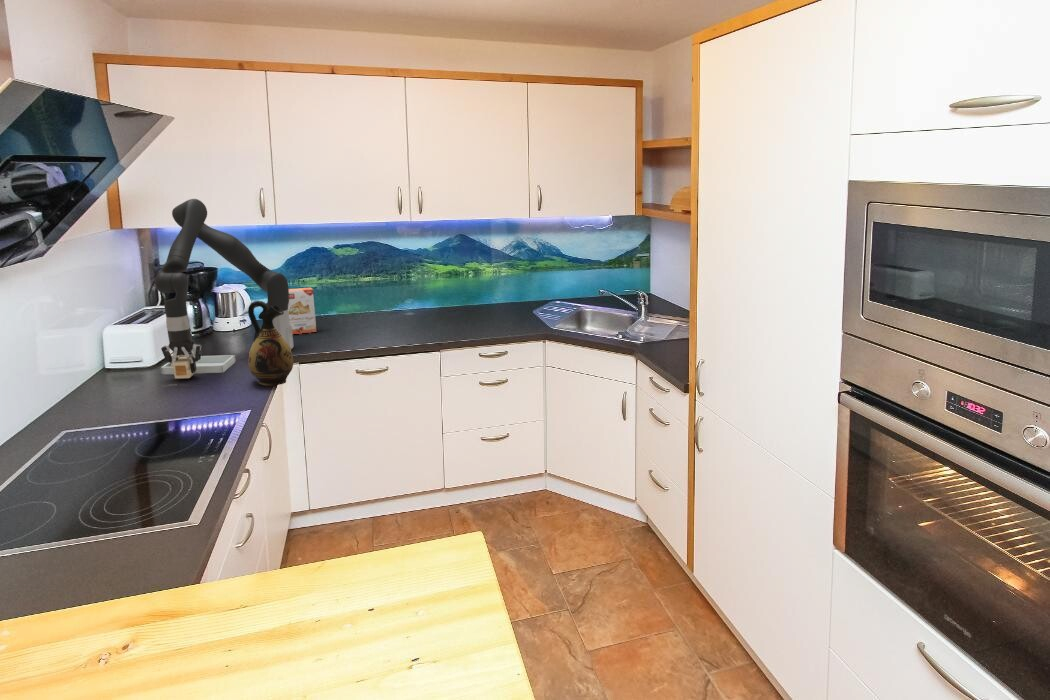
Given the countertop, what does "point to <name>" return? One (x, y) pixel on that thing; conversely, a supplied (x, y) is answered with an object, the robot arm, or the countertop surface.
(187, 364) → the orange-label box
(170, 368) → the white rectangular tray
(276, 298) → the robot arm
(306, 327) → the cracker box
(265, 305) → the ceramic jug
